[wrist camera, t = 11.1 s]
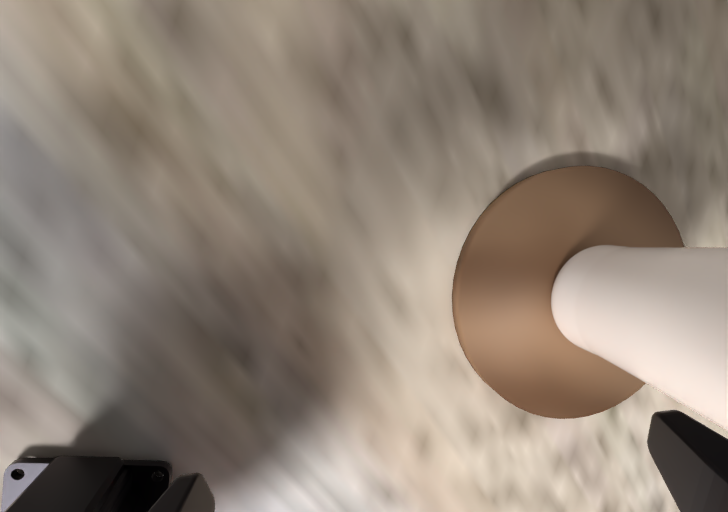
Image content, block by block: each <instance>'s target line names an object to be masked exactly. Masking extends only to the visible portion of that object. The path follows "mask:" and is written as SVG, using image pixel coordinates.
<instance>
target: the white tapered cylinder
mask: <svg viewBox="0 0 728 512" xmlns="http://www.w3.org/2000/svg"><path fill="white" fill-rule="evenodd" d="M551 309H552V314H553V318H554V321H555V323H556V325H557V327H558V329H559V330H560V332H561V333H562V334H563V335H564V336H565V337H566V338H567V339H568V340H569V341H570V342H571V343H573V344H574V345H576V346H578V347H579V348H582V349H584V350H586V351H588V352H590V353H592V354H595V355H597V356H599V357H601V358H603V359H605V360H606V361H608V362H610V363H612V364H613V365H615V366H617V367H619V368H620V369H622V370H624V371H626V372H627V373H629V374H631V375H633V376H634V377H636V378H638V379H640V380H641V381H643V382H645V383H646V384H648V385H650V386H652V387H653V388H655V389H657V390H658V391H660V392H662V393H664V394H665V395H667V396H669V397H670V398H672V399H674V400H676V401H677V402H679V403H681V404H682V405H684V406H686V407H688V408H689V409H691V410H693V411H694V412H696V413H698V414H699V415H701V416H703V417H705V418H706V419H708V420H710V421H711V422H713V423H715V424H716V425H718V426H720V427H722V428H723V429H725V430H727V431H728V247H628V246H618V245H598V246H593V247H589V248H586V249H584V250H582V251H580V252H578V253H577V254H575V255H574V256H573V257H571V258H570V259H569V260H568V261H567V262H566V263H565V264H564V265H563V267H562V268H561V270H560V271H559V273H558V275H557V277H556V279H555V281H554V284H553V288H552V293H551Z"/></svg>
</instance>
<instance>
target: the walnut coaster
mask: <svg viewBox="0 0 728 512" xmlns="http://www.w3.org/2000/svg"><path fill="white" fill-rule="evenodd" d="M598 245H618V246H628V247H684V245H683V242H682V239H681V236H680V233H679V231H678V229H677V227H676V225H675V223H674V220H673V218H672V217H671V215H670V214H669V212H668V211H667V209H666V208H665V206H664V205H663V204H662V203H661V202H660V200H659V199H658V198H657V197H656V196H655V195H654V194H653V193H652V192H651V191H650V190H648V189H647V188H646V187H645V186H644V185H642V184H641V183H639V182H638V181H636V180H634V179H633V178H631V177H629V176H627V175H625V174H622V173H620V172H618V171H614V170H611V169H607V168H603V167H594V166H572V167H566V168H560V169H555V170H550V171H545V172H542V173H539V174H536V175H533V176H530V177H528V178H526V179H524V180H522V181H520V182H518V183H516V184H515V185H513V186H512V187H510V188H509V189H508V190H506V191H505V192H503V193H502V194H501V195H500V196H499V197H498V198H496V199H495V200H494V201H493V202H492V203H491V204H490V205H489V206H488V207H487V209H486V210H485V211H484V212H483V213H482V214H481V216H480V217H479V218H478V220H477V221H476V223H475V224H474V226H473V228H472V229H471V231H470V232H469V235H468V237H467V239H466V241H465V243H464V245H463V247H462V250H461V253H460V256H459V258H458V261H457V265H456V270H455V275H454V279H453V291H452V308H453V317H454V323H455V329H456V332H457V336H458V339H459V342H460V345H461V347H462V349H463V351H464V353H465V356H466V358H467V359H468V361H469V362H470V364H471V366H472V367H473V369H474V370H475V371H476V373H477V374H478V375H479V376H480V377H481V378H482V380H483V381H484V382H485V383H486V384H488V385H489V386H490V387H491V388H492V389H493V390H494V391H496V392H497V393H498V394H499V395H500V396H502V397H503V398H504V399H505V400H507V401H509V402H510V403H512V404H513V405H515V406H516V407H518V408H520V409H523V410H525V411H527V412H529V413H532V414H536V415H540V416H543V417H550V418H558V419H565V418H579V417H585V416H590V415H593V414H596V413H599V412H603V411H605V410H607V409H609V408H611V407H614V406H616V405H617V404H619V403H621V402H622V401H624V400H626V399H627V398H629V397H630V396H631V395H633V394H634V393H635V392H636V391H638V390H639V389H640V388H641V387H642V386H643V385H644V384H645V382H643V381H641V380H640V379H638V378H636V377H634V376H633V375H631V374H629V373H627V372H626V371H624V370H622V369H620V368H619V367H617V366H615V365H613V364H612V363H610V362H608V361H606V360H605V359H603V358H601V357H599V356H597V355H595V354H592V353H590V352H588V351H586V350H584V349H582V348H579V347H578V346H576V345H574V344H573V343H571V342H570V341H569V340H568V339H567V338H566V337H565V336H564V335H563V334H562V333H561V332H560V330H559V329H558V327H557V325H556V323H555V321H554V318H553V314H552V309H551V293H552V288H553V284H554V281H555V279H556V277H557V275H558V273H559V271H560V270H561V268H562V267H563V265H564V264H565V263H566V262H567V261H568V260H569V259H570V258H571V257H573V256H574V255H575V254H577V253H578V252H580V251H582V250H584V249H586V248H589V247H593V246H598Z"/></svg>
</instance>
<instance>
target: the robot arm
mask: <svg viewBox="0 0 728 512" xmlns="http://www.w3.org/2000/svg"><path fill="white" fill-rule="evenodd" d="M647 443H648V449H649V452H650V454H651V456H652V458H653V460H654V462H655V464H656V466H657V468H658V469H659V471H660V473H661V475H662V477H663V479H664V481H665V483H666V485H667V487H668V489H669V491H670V493H671V495H672V497H673V498H674V500H675V502H676V504H677V506H678V508H679V510H680V512H728V439H727V438H725V437H723V436H722V435H720V434H718V433H716V432H715V431H713V430H711V429H710V428H708V427H706V426H705V425H703V424H701V423H700V422H698V421H696V420H694V419H693V418H691V417H689V416H688V415H686V414H684V413H682V412H680V411H678V410H668V411H660V412H655V413H654V414H653V415H652V419H651V424H650V429H649V434H648V440H647ZM17 469H22V470H23V471H24V474H19V473H18V472H17ZM156 471H160V472H162V473H163V476H160V477H159V476H156V475H155V473H154V472H156ZM171 475H172V468H171V466H170V464H169V463H167V462H165V461H151V460H122V459H120V458H119V457H84V456H58V457H57V458H19V459H17V460H15V461H14V462H13V463H12V464H10V465H9V466H8V467H7V469H6V470H5V473H4V481H3V494H2V506H1V512H214V510H215V501H214V497H213V494H212V492H211V491H210V489H209V487H208V485H207V483H206V481H205V479H204V477H203V476H202V474H200V473H192V474H184V475H181V476H179V477H178V478H177V479H176V480H175V481H174V482H173V483H172V484H171ZM170 484H171V486H170Z"/></svg>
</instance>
